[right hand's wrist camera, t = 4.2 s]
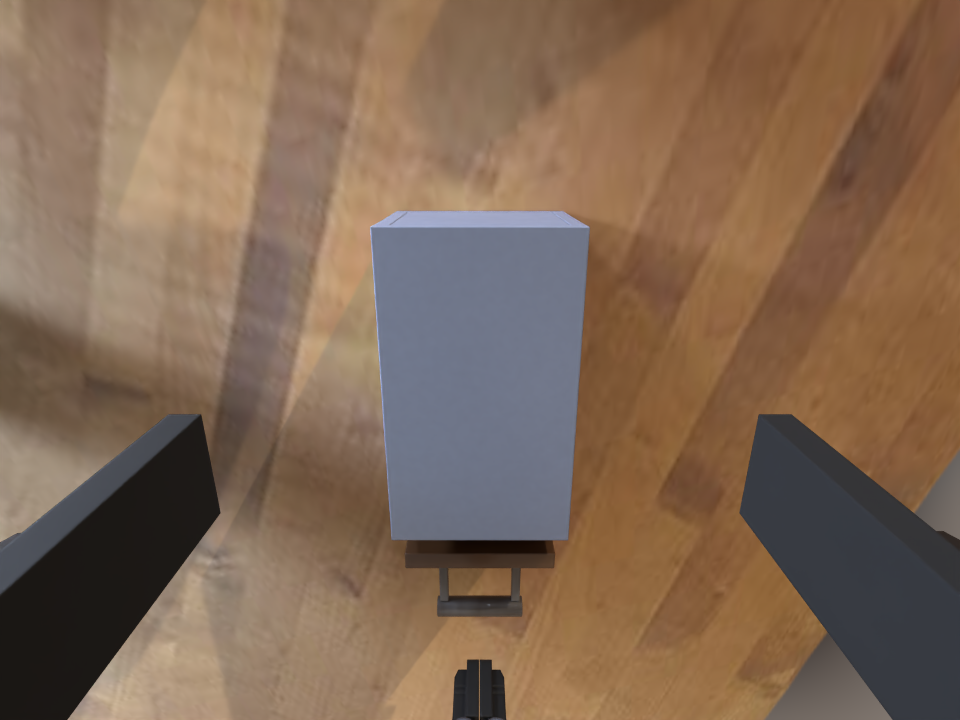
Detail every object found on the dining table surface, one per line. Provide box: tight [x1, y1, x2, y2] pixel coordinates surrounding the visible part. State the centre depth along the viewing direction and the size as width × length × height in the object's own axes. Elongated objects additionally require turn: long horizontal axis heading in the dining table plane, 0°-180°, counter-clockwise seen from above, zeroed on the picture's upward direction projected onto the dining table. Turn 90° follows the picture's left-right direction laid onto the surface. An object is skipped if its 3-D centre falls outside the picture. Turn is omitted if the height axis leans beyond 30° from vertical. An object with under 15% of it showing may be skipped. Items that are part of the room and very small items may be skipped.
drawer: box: [405, 540, 555, 617], centre depth 37 cm, size 24×10×7 cm, turn 0°
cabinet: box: [370, 211, 590, 540], centre depth 34 cm, size 19×11×9 cm, turn 0°
